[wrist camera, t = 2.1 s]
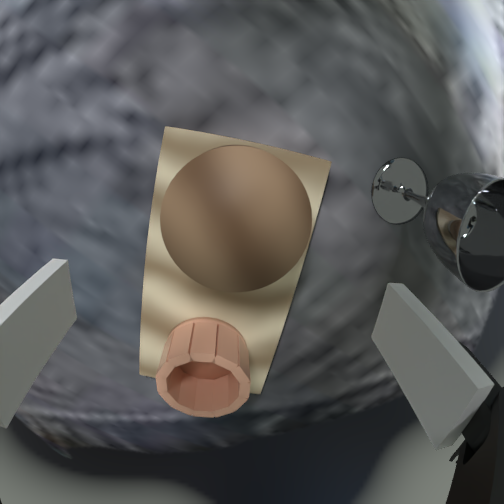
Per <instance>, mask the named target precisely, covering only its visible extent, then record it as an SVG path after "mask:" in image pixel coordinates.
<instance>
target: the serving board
mask: <svg viewBox="0 0 504 504" xmlns="http://www.w3.org/2000/svg"><path fill="white" fill-rule="evenodd" d="M226 145H246V146H252V147H255V148H259V149H261V150H264V151H266V152H268V153H270V154H272V155H274V156H275V157H277V158H279V159H280V160H282V161H283V162H284V163H285V164H287V165H288V166H289V167H290V168H291V169H292V170H293V171H294V172H295V173H296V174H297V176H298V177H299V179H300V180H301V182H302V183H303V185H304V187H305V189H306V191H307V194H308V197H309V200H310V204H311V209H312V228H311V234H310V238H309V241H308V244H307V247H306V249H305V251H304V253H303V255H302V256H301V258H300V259H299V261H298V262H297V264H296V265H295V266H294V267H293V268H292V269H291V270H290V271H289V272H288V273H287V274H286V275H285V276H283V277H282V278H280V279H279V280H277V281H276V282H274V283H272V284H270V285H268V286H266V287H263V288H260V289H257V290H253V291H248V292H223V291H218V290H214V289H211V288H208V287H206V286H203V285H201V284H199V283H197V282H196V281H194V280H193V279H191V278H190V277H188V276H187V275H186V274H185V273H184V272H183V271H181V270H180V268H179V267H178V266H177V265H176V264H175V263H174V261H173V260H172V258H171V257H170V255H169V253H168V251H167V249H166V247H165V244H164V241H163V238H162V233H161V228H160V212H161V206H162V201H163V198H164V195H165V192H166V190H167V188H168V186H169V184H170V182H171V181H172V179H173V178H174V177H175V175H176V174H177V173H178V172H179V171H180V170H181V169H182V168H183V167H184V166H185V165H186V164H187V163H188V162H190V161H191V160H192V159H194V158H196V157H197V156H199V155H201V154H202V153H204V152H206V151H208V150H211V149H213V148H217V147H221V146H226ZM330 166H331V162H330V161H327V160H323V159H320V158H316V157H312V156H308V155H305V154H301V153H297V152H293V151H289V150H285V149H281V148H276V147H272V146H268V145H263V144H259V143H254V142H250V141H245V140H240V139H235V138H230V137H225V136H220V135H215V134H209V133H204V132H198V131H192V130H186V129H180V128H173V127H166V126H165V130H164V135H163V141H162V146H161V151H160V157H159V163H158V169H157V175H156V181H155V187H154V194H153V201H152V208H151V216H150V224H149V232H148V241H147V250H146V260H145V271H144V283H143V296H142V312H141V332H140V373H139V374H140V375H144V376H149V377H154V378H156V373H157V369H158V366H159V362H160V358H161V355H162V351H163V348H164V344H165V342H166V341H167V338H168V335H169V334H170V332H171V331H172V329H173V328H174V327H175V326H177V325H178V324H179V323H181V322H183V321H185V320H188V319H191V318H196V317H211V318H216V319H220V320H223V321H225V322H227V323H229V324H231V325H232V326H234V327H235V328H236V329H237V330H238V331H239V332H240V333H241V334H242V336H243V337H244V339H245V342H246V345H247V349H248V354H249V367H250V380H251V384H250V393H254V394H260V393H261V391H262V388H263V385H264V382H265V379H266V377H267V374H268V371H269V368H270V365H271V362H272V359H273V356H274V353H275V350H276V347H277V345H278V342H279V339H280V336H281V333H282V329H283V326H284V323H285V320H286V317H287V314H288V311H289V308H290V305H291V302H292V298H293V295H294V292H295V289H296V286H297V282H298V279H299V276H300V273H301V269H302V266H303V263H304V259H305V256H306V253H307V249H308V246H309V242H310V239H311V235H312V232H313V228H314V225H315V221H316V218H317V214H318V211H319V207H320V203H321V200H322V196H323V192H324V189H325V185H326V181H327V177H328V174H329V170H330Z"/></svg>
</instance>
